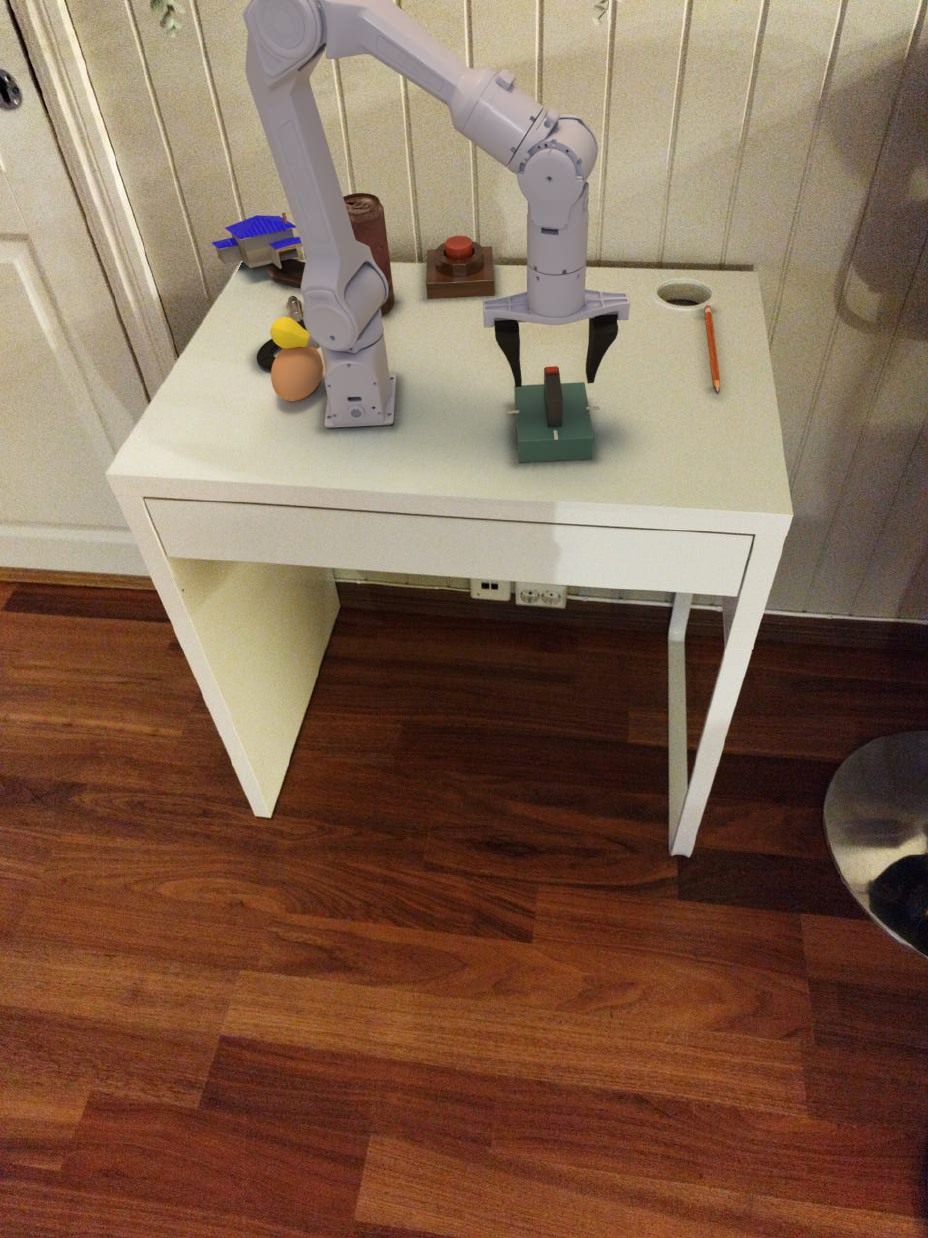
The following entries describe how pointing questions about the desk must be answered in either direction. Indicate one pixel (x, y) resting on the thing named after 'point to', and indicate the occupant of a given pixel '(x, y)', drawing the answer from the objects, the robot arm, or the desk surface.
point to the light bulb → (291, 334)
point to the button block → (460, 273)
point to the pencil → (712, 347)
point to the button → (458, 247)
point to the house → (259, 241)
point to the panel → (553, 441)
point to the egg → (296, 372)
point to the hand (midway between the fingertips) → (553, 379)
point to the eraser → (288, 272)
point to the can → (371, 234)
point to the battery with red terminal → (553, 396)
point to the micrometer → (270, 346)
